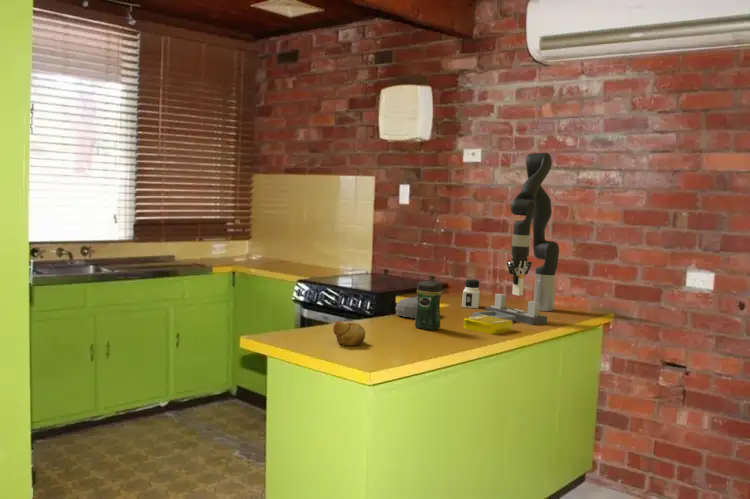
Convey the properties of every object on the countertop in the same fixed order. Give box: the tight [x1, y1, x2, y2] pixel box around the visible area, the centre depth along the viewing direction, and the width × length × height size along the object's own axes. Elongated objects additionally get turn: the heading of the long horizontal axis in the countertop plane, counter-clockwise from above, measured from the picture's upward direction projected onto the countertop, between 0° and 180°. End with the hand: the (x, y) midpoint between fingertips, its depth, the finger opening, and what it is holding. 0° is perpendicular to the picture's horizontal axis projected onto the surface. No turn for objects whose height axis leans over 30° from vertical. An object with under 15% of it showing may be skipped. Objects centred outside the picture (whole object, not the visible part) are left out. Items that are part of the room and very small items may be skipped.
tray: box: [471, 310, 517, 323], centre depth 297 cm, size 13×13×2 cm
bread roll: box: [332, 321, 366, 347], centre depth 238 cm, size 13×10×8 cm
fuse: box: [526, 300, 540, 317], centre depth 296 cm, size 2×4×9 cm, turn 35°
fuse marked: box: [511, 274, 525, 297], centre depth 303 cm, size 2×4×9 cm, turn 35°
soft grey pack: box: [394, 295, 418, 319], centre depth 297 cm, size 15×8×20 cm
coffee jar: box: [414, 280, 443, 331], centre depth 271 cm, size 10×8×19 cm
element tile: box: [463, 315, 514, 335], centre depth 276 cm, size 15×15×5 cm
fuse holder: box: [485, 305, 548, 326], centre depth 305 cm, size 9×28×4 cm, turn 35°
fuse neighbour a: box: [493, 293, 507, 309], centre depth 313 cm, size 2×4×9 cm, turn 35°
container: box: [461, 278, 481, 309], centre depth 329 cm, size 8×8×13 cm
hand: (518, 284), depth 304 cm, fingers closed on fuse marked, 2 cm apart
